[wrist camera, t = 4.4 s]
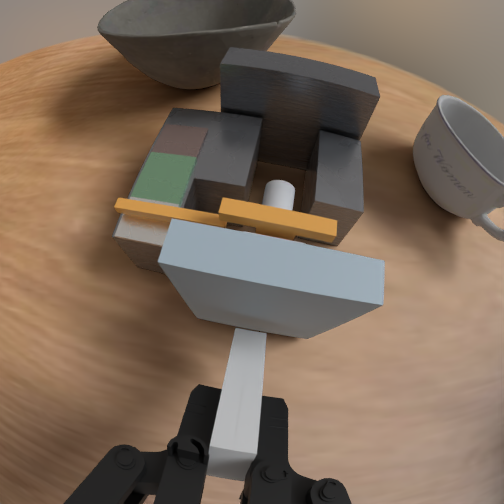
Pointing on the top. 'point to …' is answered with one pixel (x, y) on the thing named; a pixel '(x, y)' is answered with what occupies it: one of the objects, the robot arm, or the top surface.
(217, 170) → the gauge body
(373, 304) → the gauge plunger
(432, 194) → the teacup
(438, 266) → the top surface
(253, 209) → the orange bar
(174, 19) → the bowl
